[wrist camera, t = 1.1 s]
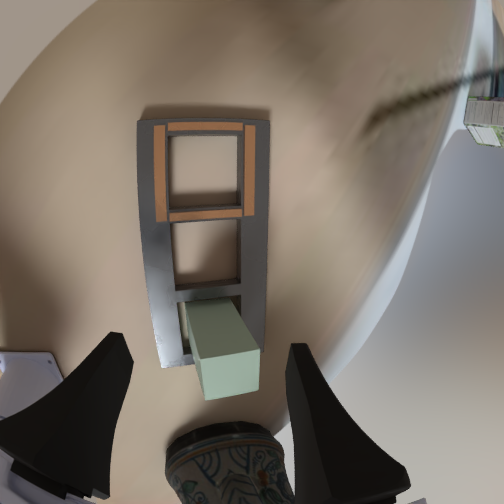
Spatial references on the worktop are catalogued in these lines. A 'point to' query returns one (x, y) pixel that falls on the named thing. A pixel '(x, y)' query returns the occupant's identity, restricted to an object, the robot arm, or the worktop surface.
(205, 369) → the peg
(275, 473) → the beer stein
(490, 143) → the syrup box
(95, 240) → the worktop surface
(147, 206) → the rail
